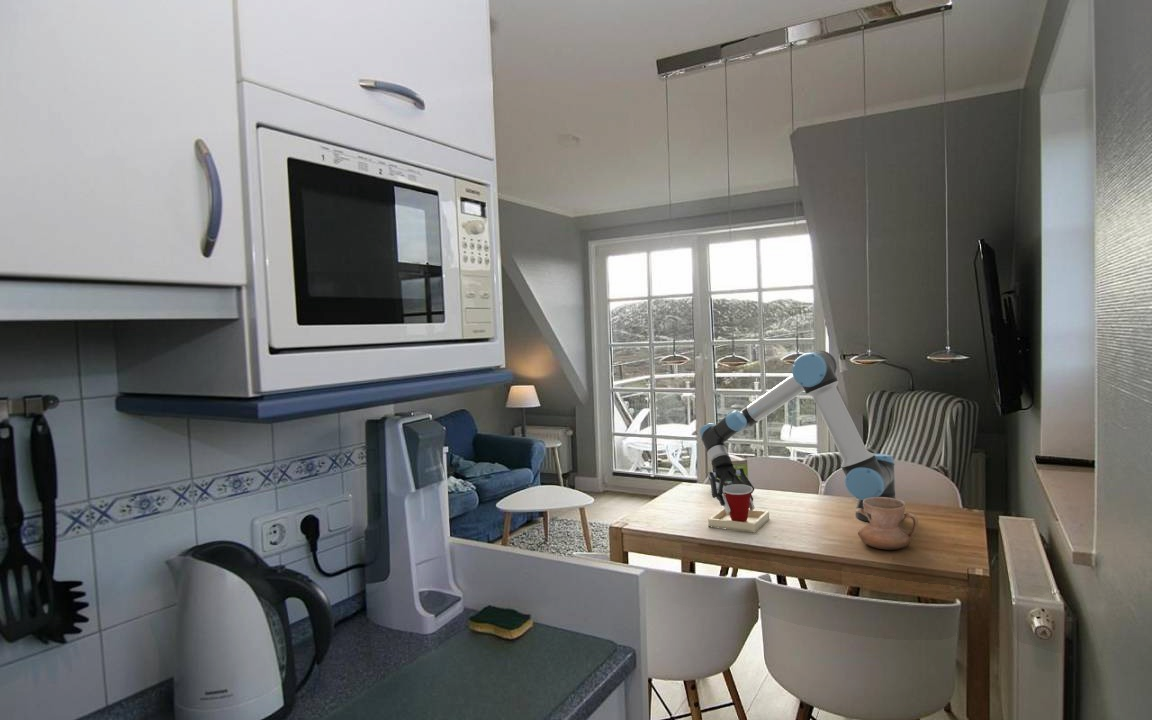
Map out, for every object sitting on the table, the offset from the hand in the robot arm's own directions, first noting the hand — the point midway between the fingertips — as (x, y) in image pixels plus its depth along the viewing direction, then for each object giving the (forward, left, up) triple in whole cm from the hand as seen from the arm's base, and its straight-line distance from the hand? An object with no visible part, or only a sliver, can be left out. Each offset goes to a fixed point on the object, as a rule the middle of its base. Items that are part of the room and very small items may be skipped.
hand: (740, 511), depth 233 cm
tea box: (+20, -44, -5) cm, 49 cm away
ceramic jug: (-49, +4, -5) cm, 49 cm away
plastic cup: (+1, -1, -4) cm, 4 cm away
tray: (+1, -1, -5) cm, 5 cm away
